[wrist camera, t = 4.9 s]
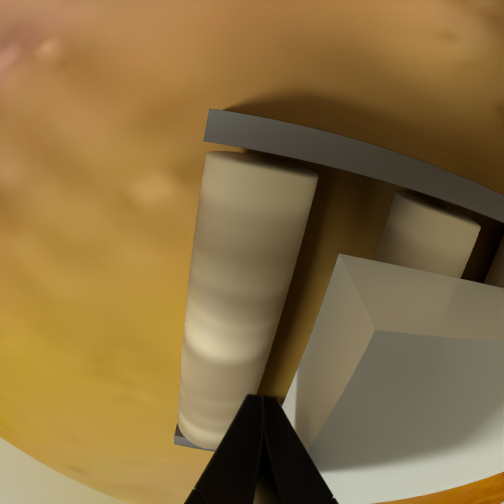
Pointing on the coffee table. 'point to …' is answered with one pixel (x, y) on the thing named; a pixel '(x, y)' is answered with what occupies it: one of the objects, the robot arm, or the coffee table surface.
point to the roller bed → (293, 249)
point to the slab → (401, 383)
